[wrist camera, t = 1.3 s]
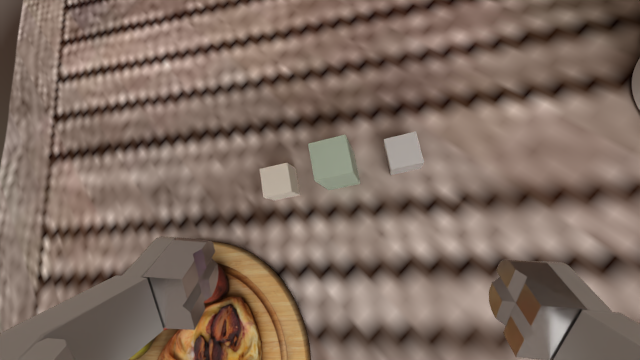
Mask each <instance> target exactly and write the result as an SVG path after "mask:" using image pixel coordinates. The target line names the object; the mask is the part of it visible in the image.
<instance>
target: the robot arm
mask: <svg viewBox="0 0 640 360" xmlns="http://www.w3.org/2000/svg"><path fill="white" fill-rule="evenodd" d="M632 92H633V96H634V100H635V102H636V104H637V106H638V108H639V110H640V58H639V60H638V62H637V64H636V66H635V69H634V72H633V76H632ZM214 253H215V249H214V244H213V242H211V241H210V240H199V239H187V238H173V237H159V238H156V239H155V240H154V241H153V242H152V244H151V245H150V246H149V247H148V248H147V249H146V250H145V251H144V252H143V253H142V254H141V256H140V257H139V258H138V259H137V260H136V261H135V262H134V263H133V264H132V265H131V266H130V268H129V269H128V270H127V271H126V272H125V273H124V274H123V275H122V276H115V277H112V278H110V279H108V280H106V281H104V282H102V283H100V284H98V285H96V286H94V287H92V288H90V289H88V290H86V291H84V292H82V293H80V294H78V295H76V296H74V297H72V298H70V299H68V300H66V301H64V302H62V303H60V304H58V305H56V306H54V307H52V308H50V309H48V310H46V311H44V312H42V313H40V314H38V315H36V316H34V317H32V318H30V319H28V320H26V321H24V322H22V323H20V324H18V325H16V326H14V327H12V328H10V329H8V330H6V331H4V332H2V333H1V334H0V360H128V359H130V358H131V357H132V356H133V355H134V354H136V353H137V352H138V351H139V350H140V349H142V348H143V347H144V346H145V345H146V344H148V343H149V342H150V341H151V340H152V339H154V338H155V337H156V336H157V335H159V334H160V333H161V332H162V331H163V330H164V329H163V328H167V329H186V330H195V328H196V326H197V324H198V323H199V321H200V319H201V317H202V315H203V313H204V311H205V305H204V301H206V300H207V299H209V298H210V297H211V296H212V295H213V293H214V291H215V288H216V285H217V281H218V265H217V263H216V262H215V261H214V260H213V259H212V256H213V255H214ZM496 271H497V273H498V274H499V276H500V277H499V278H498V279H496V280H495V281H494V282H492V284H491V287H490V290H489V302H490V306H491V310H492V312H493V314H494V316H495V318H496V319H498V320H499V321H500V322H501V323H503V324H504V325H505V329H504V332H503V333H504V335H505V337H506V339H507V341H508V343H509V345H510V346H511V348H512V350H513V352H514V354H515V356H516V357H522V358H531V359H540V360H640V324H639V323H637V322H635V321H634V320H632V319H630V318H628V317H626V316H625V315H623V314H621V313H618V312H612V311H611V310H610V309H609V308H608V307H607V305H606V304H605V303H604V302H603V301H602V300H601V299H600V298H599V297H598V296H597V295H596V294H595V293H594V292H593V291H592V290H591V289H590V288H589V287H588V285H587V284H586V283H585V282H584V281H583V280H582V279H581V278H580V277H579V276H578V275H577V274H576V273H575V272H574V271H573V270H572V269H571V268H570V266H568V265H566V264H565V263H563V262H543V261H542V262H535V261H518V260H502V261H501V262H500V263H499V265H498V268H497V270H496Z"/></svg>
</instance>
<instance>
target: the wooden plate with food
mask: <svg viewBox="0 0 640 360" xmlns="http://www.w3.org/2000/svg"><path fill="white" fill-rule="evenodd" d="M211 242H212V241H211ZM213 244H214V249H215V253H214V255H213V256H212V259H213V260H214V261H215V262H216V263H217V265H218V281H217V285H216V288H215V291H214V293H213V295H212V296H211V297H210V298H209V299H207V300H206V301H204V305H205V311H204V313H203V315H202V317H201V319H200V321H199V323H198V324H197V326H196V328H195V330H186V329H167V328H163V329H164V330H163V331H162V332H161V333H160V334H159V335H157V336H156V337H155V338H154V339H152V340H151V341H150V342H149V343H148V344H146V345H145V346H144V347H143V348H142V349H140V350H139V351H138V352H137V353H136V354H134V355H133V356H132V357H131V358H130V359H128V360H311V355H310V346H309V340H308V336H307V331H306V327H305V324H304V321H303V318H302V316H301V314H300V311H299V308H298V306H297V304H296V302H295V300H294V298H293V296H292V294H291V292H290V291H289V289H288V288H287V286H286V285H285V283H284V282H283V281H282V279H281V278H280V277H279V276H278V275H277V274H276V272H275V271H273V270H272V269H271V268H270V267H269V266H268V265H267V264H266V263H265V262H263V261H262V260H261V259H259V258H258V257H256V256H255V255H253V254H252V253H250V252H248V251H246V250H244V249H242V248H239V247H237V246H233V245H230V244H226V243H221V242H213Z"/></svg>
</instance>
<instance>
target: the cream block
mask: <svg viewBox="0 0 640 360" xmlns="http://www.w3.org/2000/svg"><path fill="white" fill-rule="evenodd" d="M260 176H261V183H262V190H263V197H264V198H267V199H271V200H279V199H284V198H288V197H293V196H297V195H300V191H299V185H298V179H297V173H296V168H295V167H293V166H292V165H290V164H289V163H283V164H279V165H275V166H270V167H266V168H262V169H260Z"/></svg>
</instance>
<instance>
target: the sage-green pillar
mask: <svg viewBox="0 0 640 360" xmlns="http://www.w3.org/2000/svg"><path fill="white" fill-rule="evenodd" d="M308 146H309V152H310V158H311V163H312V169H313V175H314V180H315V181H316V182H317V183H319V184H320V185H322V186H323V187H325V188H326V189H328V190H333V189H338V188H342V187H347V186H352V185H356V184H360V179H359V175H358V170H357V165H356V160H355V155H354V152H353V150H352V147H351V145H350V143H349V141H348V139H347V137H346V135H341V136H337V137H333V138H329V139H325V140H321V141H317V142H313V143H309V144H308Z"/></svg>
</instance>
